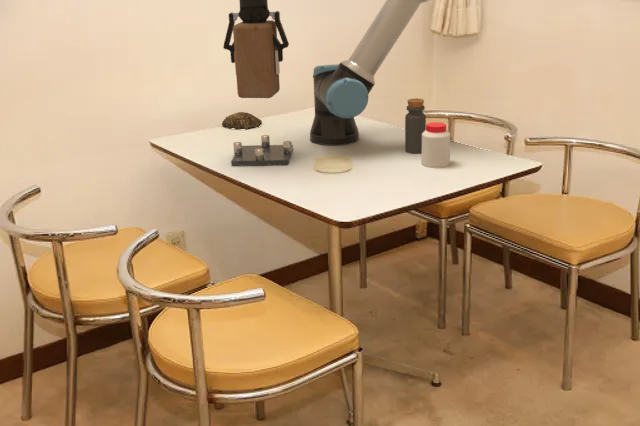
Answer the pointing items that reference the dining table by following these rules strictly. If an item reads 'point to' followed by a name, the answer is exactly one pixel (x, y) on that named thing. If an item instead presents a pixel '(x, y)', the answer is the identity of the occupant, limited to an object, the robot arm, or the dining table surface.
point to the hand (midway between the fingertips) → (257, 74)
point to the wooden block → (256, 59)
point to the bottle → (414, 125)
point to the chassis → (262, 153)
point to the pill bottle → (435, 145)
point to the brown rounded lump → (241, 121)
